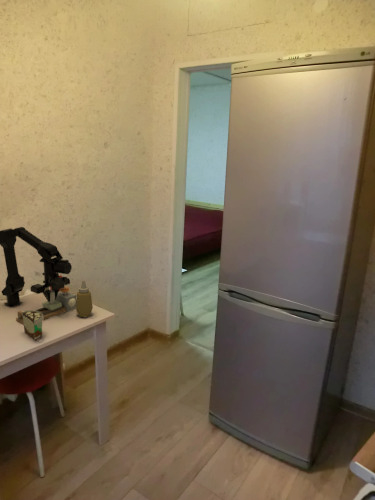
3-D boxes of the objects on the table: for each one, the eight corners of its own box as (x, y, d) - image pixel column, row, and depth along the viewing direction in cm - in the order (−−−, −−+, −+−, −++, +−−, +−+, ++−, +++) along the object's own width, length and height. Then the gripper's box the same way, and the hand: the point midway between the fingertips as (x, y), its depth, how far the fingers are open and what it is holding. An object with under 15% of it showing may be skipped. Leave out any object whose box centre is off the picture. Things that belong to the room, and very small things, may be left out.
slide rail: (16, 321, 163) (15, 312, 162) (55, 306, 181) (55, 298, 180) (27, 326, 158) (27, 317, 157) (67, 310, 176) (66, 302, 175)
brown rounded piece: (58, 296, 178) (58, 288, 177) (65, 293, 182) (65, 286, 181) (64, 298, 176) (64, 290, 175) (71, 295, 180) (71, 288, 179)
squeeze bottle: (75, 312, 175) (74, 278, 170) (92, 310, 178) (91, 277, 173) (76, 319, 168) (75, 284, 163) (93, 317, 170) (92, 283, 166)
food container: (50, 337, 150) (48, 316, 148) (36, 342, 146) (34, 320, 143) (36, 327, 158) (35, 307, 155) (23, 332, 153) (21, 311, 151)
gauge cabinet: (54, 306, 181) (53, 293, 179) (64, 302, 186) (63, 290, 184) (67, 311, 175) (67, 298, 174) (77, 307, 180) (76, 295, 179)
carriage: (42, 306, 173) (41, 291, 171) (52, 302, 178) (52, 288, 176) (51, 310, 169) (50, 295, 167) (61, 306, 174) (61, 291, 172)
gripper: (43, 279, 157) (45, 311, 161) (76, 270, 172) (77, 299, 176) (28, 274, 163) (31, 305, 167) (62, 265, 178) (63, 293, 182)
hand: (51, 300), depth 173 cm, fingers closed on carriage, 3 cm apart
